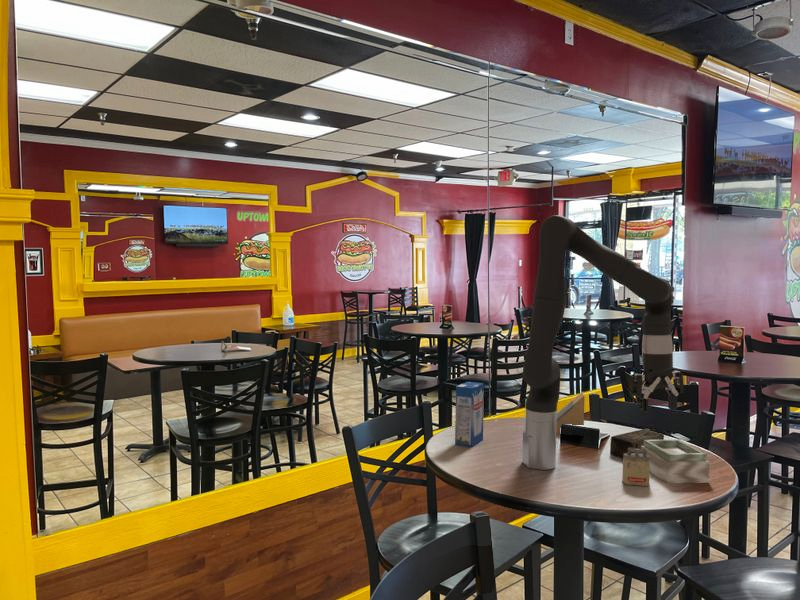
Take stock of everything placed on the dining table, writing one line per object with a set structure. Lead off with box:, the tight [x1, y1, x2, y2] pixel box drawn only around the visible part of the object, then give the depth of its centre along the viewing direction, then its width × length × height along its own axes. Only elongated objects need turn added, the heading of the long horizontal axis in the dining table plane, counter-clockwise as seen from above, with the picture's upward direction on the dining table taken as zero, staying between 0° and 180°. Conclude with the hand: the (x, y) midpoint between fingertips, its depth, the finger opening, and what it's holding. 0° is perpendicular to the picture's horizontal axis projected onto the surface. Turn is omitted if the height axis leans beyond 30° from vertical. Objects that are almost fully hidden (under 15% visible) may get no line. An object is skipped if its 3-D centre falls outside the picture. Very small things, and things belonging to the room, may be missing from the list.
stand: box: [641, 438, 710, 484], centre depth 164 cm, size 12×15×8 cm
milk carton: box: [454, 381, 485, 448], centre depth 193 cm, size 10×6×20 cm, turn 150°
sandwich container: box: [556, 391, 585, 434], centre depth 207 cm, size 9×15×15 cm, turn 76°
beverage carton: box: [609, 428, 665, 459], centre depth 183 cm, size 8×19×7 cm, turn 124°
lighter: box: [621, 448, 651, 487], centre depth 156 cm, size 7×4×10 cm, turn 79°
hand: (658, 410), depth 152 cm, fingers open, 8 cm apart
